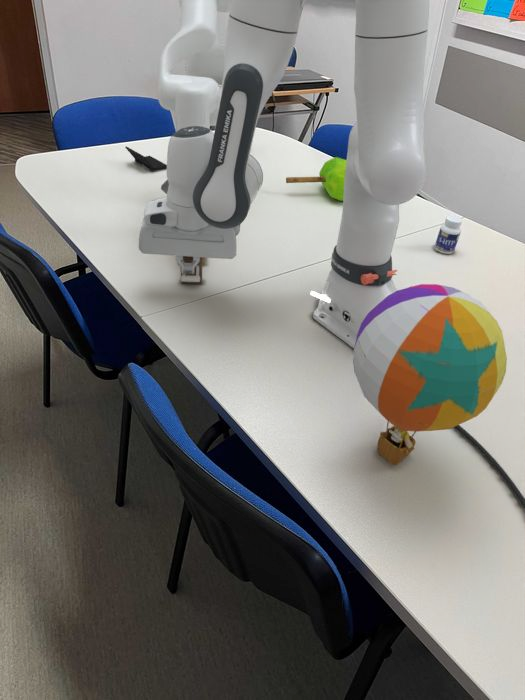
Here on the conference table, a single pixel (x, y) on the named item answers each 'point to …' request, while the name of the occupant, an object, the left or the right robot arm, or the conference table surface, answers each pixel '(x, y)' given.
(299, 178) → the decorative tree
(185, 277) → the drawer
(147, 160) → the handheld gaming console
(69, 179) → the conference table surface
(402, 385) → the toy
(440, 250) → the pill bottle
